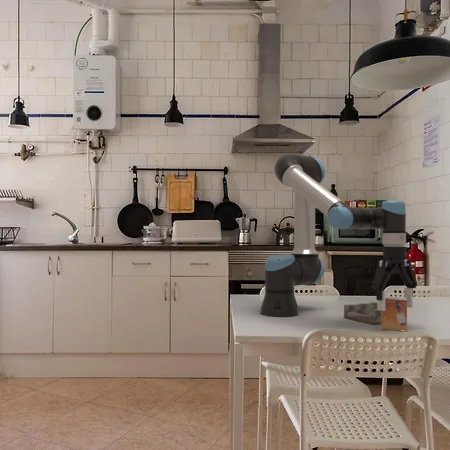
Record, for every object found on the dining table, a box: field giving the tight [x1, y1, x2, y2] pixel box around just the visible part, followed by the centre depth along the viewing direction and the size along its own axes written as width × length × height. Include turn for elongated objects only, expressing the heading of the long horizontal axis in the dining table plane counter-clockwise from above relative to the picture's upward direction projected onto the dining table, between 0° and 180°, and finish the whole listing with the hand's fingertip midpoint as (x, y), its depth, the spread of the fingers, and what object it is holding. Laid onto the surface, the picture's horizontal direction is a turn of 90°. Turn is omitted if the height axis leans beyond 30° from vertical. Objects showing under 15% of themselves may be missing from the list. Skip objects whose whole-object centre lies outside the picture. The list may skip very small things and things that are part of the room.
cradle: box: [343, 301, 382, 326], centre depth 169 cm, size 16×15×5 cm
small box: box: [381, 296, 408, 331], centre depth 153 cm, size 8×6×10 cm
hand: (395, 308), depth 153 cm, fingers open, 13 cm apart
